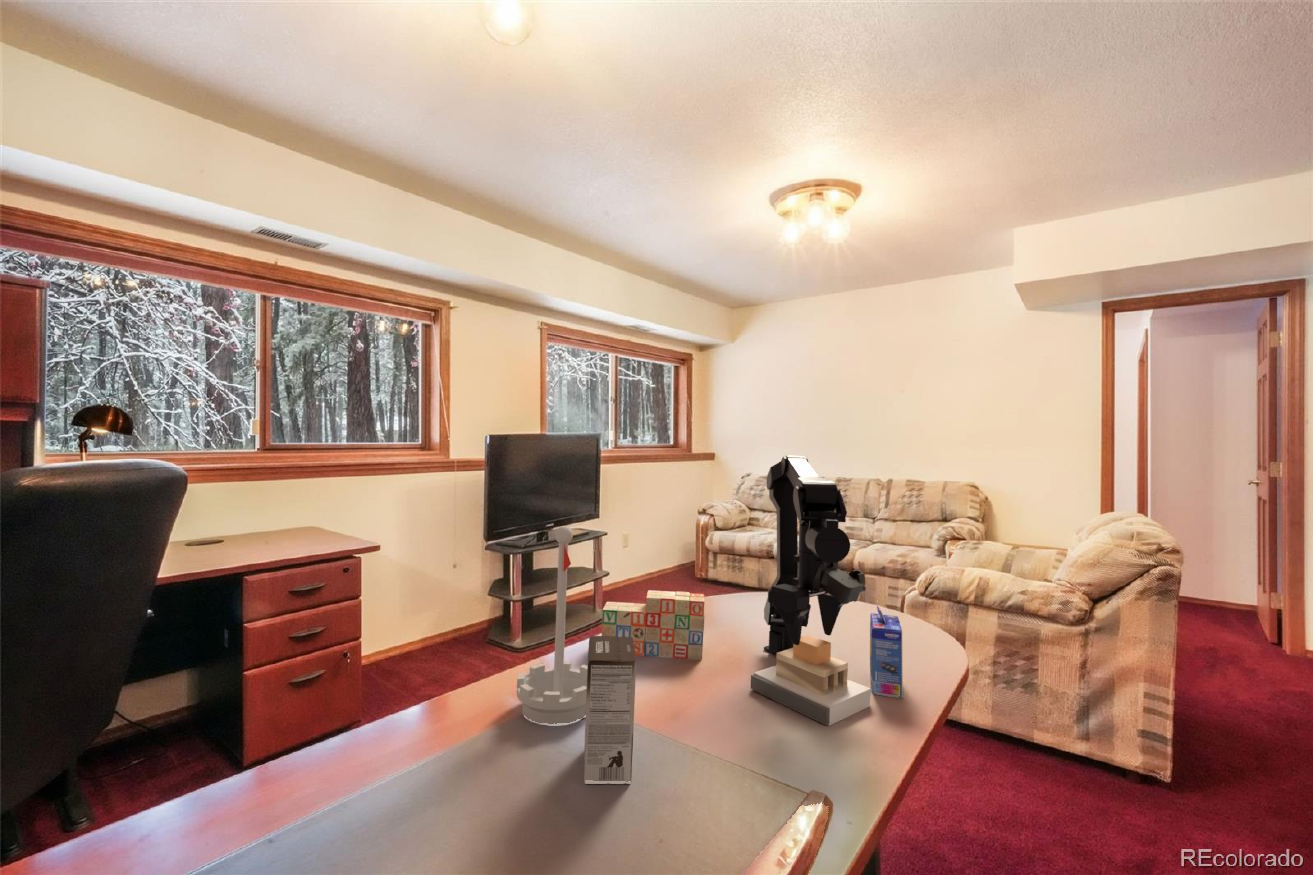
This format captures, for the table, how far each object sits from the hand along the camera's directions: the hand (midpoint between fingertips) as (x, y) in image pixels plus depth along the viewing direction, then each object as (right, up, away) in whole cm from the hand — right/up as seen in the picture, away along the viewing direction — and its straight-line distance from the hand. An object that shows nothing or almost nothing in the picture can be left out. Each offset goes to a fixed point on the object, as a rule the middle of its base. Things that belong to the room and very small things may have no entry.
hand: (812, 639), depth 99 cm
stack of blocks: (-29, -10, +20) cm, 36 cm away
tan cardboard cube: (0, -3, 0) cm, 3 cm away
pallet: (0, -7, 0) cm, 7 cm away
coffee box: (-34, -9, -23) cm, 42 cm away
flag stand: (-44, -9, -8) cm, 46 cm away
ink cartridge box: (+15, -11, +6) cm, 20 cm away
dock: (0, -10, 0) cm, 10 cm away
